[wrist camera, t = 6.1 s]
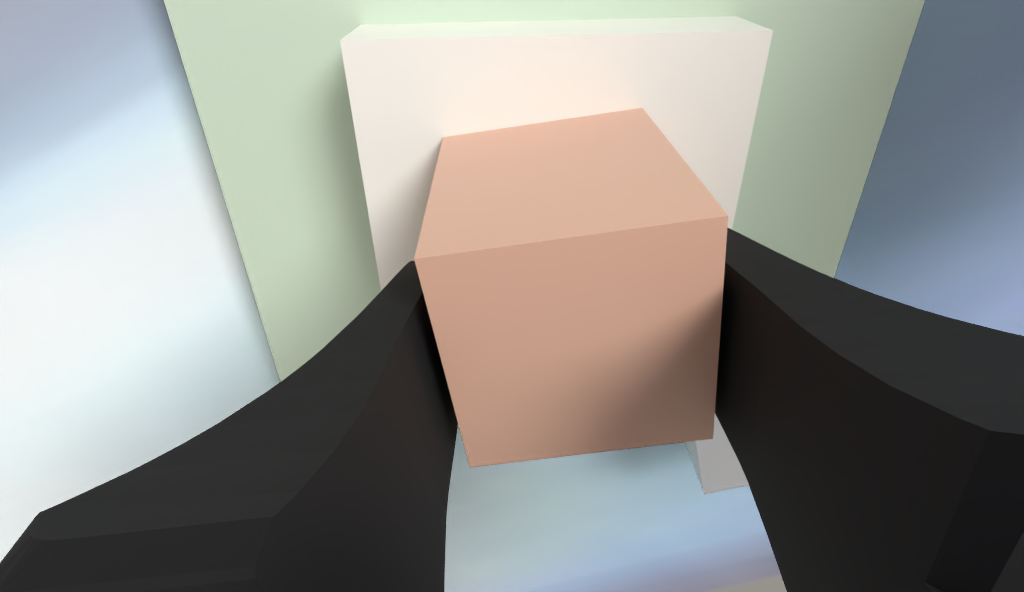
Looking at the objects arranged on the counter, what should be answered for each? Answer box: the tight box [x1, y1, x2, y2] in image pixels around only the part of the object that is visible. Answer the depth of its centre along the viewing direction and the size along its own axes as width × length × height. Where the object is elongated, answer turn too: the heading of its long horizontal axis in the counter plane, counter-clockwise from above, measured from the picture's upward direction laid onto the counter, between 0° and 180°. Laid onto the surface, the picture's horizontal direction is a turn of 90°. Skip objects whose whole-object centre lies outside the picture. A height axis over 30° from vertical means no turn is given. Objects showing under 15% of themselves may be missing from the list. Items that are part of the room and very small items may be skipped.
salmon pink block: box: [414, 108, 728, 467], centre depth 11 cm, size 4×4×5 cm
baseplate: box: [164, 0, 925, 428], centre depth 15 cm, size 16×16×1 cm
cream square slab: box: [340, 16, 773, 291], centre depth 14 cm, size 8×8×2 cm
